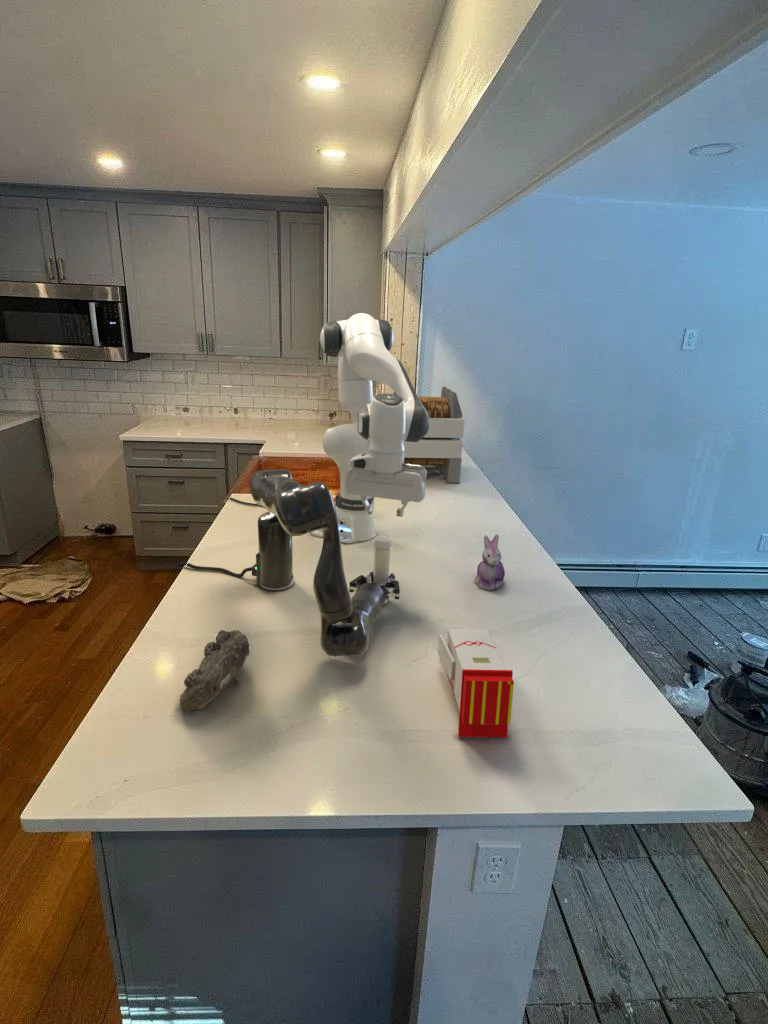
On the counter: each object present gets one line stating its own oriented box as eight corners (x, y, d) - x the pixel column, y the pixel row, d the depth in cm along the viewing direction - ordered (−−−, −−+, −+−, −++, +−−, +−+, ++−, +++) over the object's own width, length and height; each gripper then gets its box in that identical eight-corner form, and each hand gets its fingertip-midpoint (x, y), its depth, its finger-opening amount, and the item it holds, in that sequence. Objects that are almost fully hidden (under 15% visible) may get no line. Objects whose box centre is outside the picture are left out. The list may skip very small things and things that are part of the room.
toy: (488, 613, 130) (523, 677, 101) (484, 667, 133) (517, 744, 104) (435, 612, 130) (455, 676, 101) (432, 666, 133) (451, 743, 103)
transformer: (382, 463, 289) (386, 382, 275) (445, 464, 293) (451, 384, 279) (390, 482, 257) (394, 392, 243) (460, 483, 261) (468, 394, 247)
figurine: (487, 593, 160) (493, 544, 155) (466, 578, 168) (471, 531, 163) (513, 587, 164) (520, 540, 159) (491, 573, 172) (497, 527, 167)
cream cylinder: (390, 600, 154) (394, 540, 148) (381, 606, 151) (383, 544, 145) (378, 595, 156) (381, 536, 150) (369, 601, 153) (371, 540, 147)
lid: (394, 545, 149) (395, 538, 148) (383, 550, 145) (384, 543, 144) (381, 540, 151) (381, 534, 151) (370, 545, 148) (370, 538, 147)
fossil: (201, 632, 127) (249, 601, 122) (231, 661, 130) (278, 632, 125) (157, 704, 108) (212, 671, 103) (193, 736, 111) (248, 705, 106)
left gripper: (395, 595, 136) (410, 566, 151) (338, 586, 139) (358, 558, 154) (393, 622, 138) (408, 591, 154) (338, 613, 141) (358, 583, 157)
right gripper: (429, 462, 141) (426, 514, 146) (351, 454, 146) (350, 505, 150) (425, 468, 135) (421, 523, 140) (343, 460, 140) (342, 513, 145)
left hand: (383, 575), depth 154 cm, fingers closed on cream cylinder, 4 cm apart
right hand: (384, 513), depth 145 cm, fingers open, 7 cm apart
